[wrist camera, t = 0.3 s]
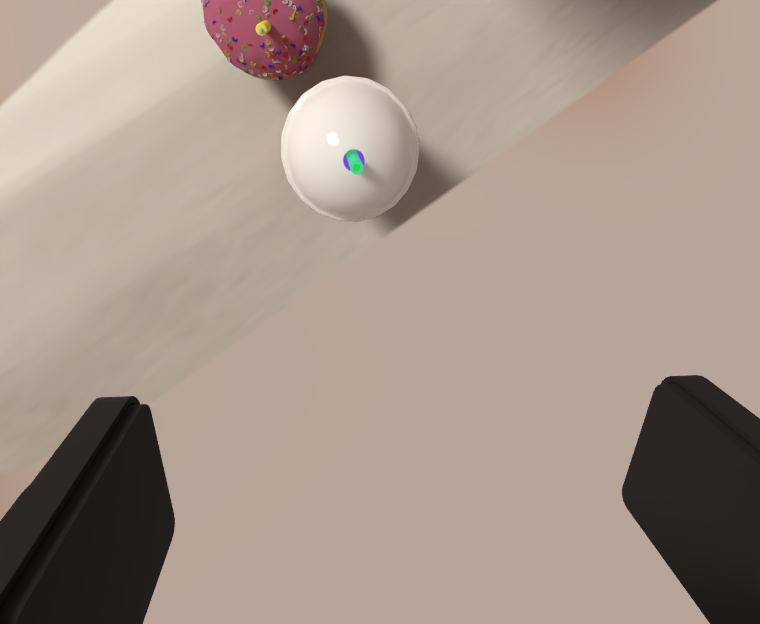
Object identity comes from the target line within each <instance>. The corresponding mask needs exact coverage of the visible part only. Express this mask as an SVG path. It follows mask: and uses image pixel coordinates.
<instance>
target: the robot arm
mask: <svg viewBox="0 0 760 624" xmlns="http://www.w3.org/2000/svg"><path fill="white" fill-rule="evenodd" d="M622 496H623V501H624V503H625V505H626V507H627V509H628V510H629V512H630V513H631V514H632V516H633V517H634V519H635V520H636V521H637V523H638V524H639V525H640V527H641V528H642V530H643V531H644V532H645V534H646V535H647V537H648V538H649V539H650V541H651V542H652V544H653V545H654V546H655V548H656V549H657V550H658V552H659V553H660V555H661V556H662V557H663V559H664V560H665V562H666V563H667V564H668V566H669V567H670V569H671V570H672V571H673V573H674V574H675V575H676V577H677V578H678V580H679V581H680V582H681V584H682V585H683V587H684V588H685V589H686V591H687V592H688V593H689V595H690V596H691V598H692V599H693V600H694V602H695V603H696V605H697V606H698V607H699V609H700V610H701V612H702V613H703V614H704V616H705V617H706V619H707V620H708V621H709V623H710V624H760V419H759V418H758V417H757V416H755V415H754V414H753V413H751V412H750V411H749V410H748V409H746V408H745V407H743V406H742V405H741V404H739V403H738V402H737V401H736V400H734V399H733V398H732V397H730V396H729V395H728V394H726V393H725V392H724V391H722V390H721V389H720V388H718V387H717V386H715V385H714V384H713V383H712V382H710V381H709V380H708V379H706V378H704V377H702V376H697V375H691V376H670V377H667V378H665V379H664V380H663V381H662V383H661V385H658V386H657V387H656V388H655V390H654V392H653V395H652V398H651V401H650V404H649V407H648V410H647V414H646V417H645V420H644V423H643V426H642V429H641V432H640V435H639V438H638V441H637V445H636V447H635V451H634V453H633V457H632V460H631V463H630V466H629V469H628V472H627V475H626V478H625V482H624V484H623V488H622ZM174 525H175V518H174V512H173V508H172V503H171V499H170V494H169V490H168V486H167V481H166V477H165V472H164V467H163V463H162V459H161V454H160V450H159V445H158V441H157V436H156V432H155V427H154V423H153V418H152V414H151V410H150V408H149V406H148V405H146V404H141V405H140V403H139V400H138V399H137V398H136V397H134V396H127V397H101V398H97V399H96V400H95V401H94V402H93V403H92V404H91V405H90V407H89V408H88V409H87V411H86V412H85V413H84V415H83V416H82V417H81V418H80V420H79V421H78V422H77V424H76V425H75V426H74V428H73V429H72V430H71V432H70V433H69V434H68V436H67V437H66V438H65V440H64V441H63V442H62V444H61V445H60V446H59V447H58V449H57V450H56V451H55V453H54V454H53V455H52V457H51V458H50V459H49V461H48V462H47V463H46V465H45V466H44V467H43V469H42V470H41V471H40V473H39V474H38V475H37V476H36V478H35V479H34V481H33V482H32V483H31V484H30V485H29V486H28V487H27V488H26V489H25V490H24V491H23V492H22V493H21V495H20V496H19V497H18V499H17V500H16V501H15V503H14V504H13V505H12V507H11V508H10V509H9V511H8V512H7V513H6V514H5V516H4V517H3V518H2V520H1V521H0V624H143V621H144V618H145V615H146V612H147V609H148V606H149V604H150V601H151V598H152V595H153V592H154V589H155V587H156V584H157V581H158V578H159V575H160V572H161V569H162V566H163V564H164V561H165V558H166V555H167V552H168V549H169V546H170V544H171V541H172V537H173V533H174Z"/></svg>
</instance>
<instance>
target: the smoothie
mask: <svg viewBox="0 0 760 624" xmlns="http://www.w3.org/2000/svg"><path fill="white" fill-rule="evenodd" d="M419 149H420V147H419V141H418V135H417V129H416V125H415V123H414V121H413V119H412V117H411V115H410V113H409V111H408V109H407V107H406V105H405V104H404V103H403V102H402V101H401V100H400V99H399V98H398V97H397V96H396V95H395V94H394V93H393V92H392V91H391V90H390V89H389V88H387V87H385V86H383V85H381V84H379V83H377V82H375V81H373V80H371V79H368V78H362V77H354V76H345V75H344V76H340V77H336V78H332V79H328V80H324V81H321V82H320V83H318V84H317V85H315V86H314V87H312V88H311V89H309V90H308V91H306V92H305V93H303V94H302V96H301V97H300V98H299V100H298V101H297V102H296V104H295V105H294V106H293V108H292V109H291V110H290V112H289V113H288V116H287V119H286V122H285V125H284V128H283V131H282V134H281V160H282V163H283V167H284V170H285V173H286V177H287V180H288V182H289V183H290V185H291V186H292V188H293V189H294V191H295V192H296V194H297V195H298V197H299V198H300V199H301V200H302V201H303V202H304V203H306V204H307V205H308V206H309V207H311V208H312V209H313V210H314V211H315V212H317V213H319V214H322V215H324V216H327V217H329V218H332V219H334V220H340V221H353V222H358V221H362V220H366V219H370V218H374V217H377V216H379V215H380V214H382V213H384V212H385V211H387V210H389V209H390V208H392V207H394V206H395V205H396V204H397V202H398V201H399V200H400V199H401V198H402V197H403V195H404V194H405V193H406V192H407V191H408V189H409V187H410V185H411V183H412V180H413V178H414V176H415V174H416V171H417V166H418V158H419Z"/></svg>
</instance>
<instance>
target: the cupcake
mask: <svg viewBox="0 0 760 624" xmlns="http://www.w3.org/2000/svg"><path fill="white" fill-rule="evenodd" d="M201 3H203V11H204V20H205V21H204V24H205V25H206V29H207V31H208V33H209V34H210V36H211V37H212V38H213V40H214V41H215V42H216V44H217V45H218V46H219V48H220V49H221V50H222V52H223V53H224V55H225V56H226V58H227V59H228V61H229V62H231V63H232V64H233V65H234V66H236V67H237V68H239V69H241V70H243V71H244V72H246V73H247V74H249V75H252V76H254V77H257V78H262V79H268V80H281V79H285V78H288V77H291V76H296V75H299V74H301V73H302V72H304V71H305V70H306V69H307V68H309V67H310V65H311V64H312V63H313V62H314V60H315V57H316V53H317V52H318V50H319V48H320V47H321V44H322V41H323V38H324V34H325V30H326V26H327V8H326V3H325V0H203V2H202V0H201Z"/></svg>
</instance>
